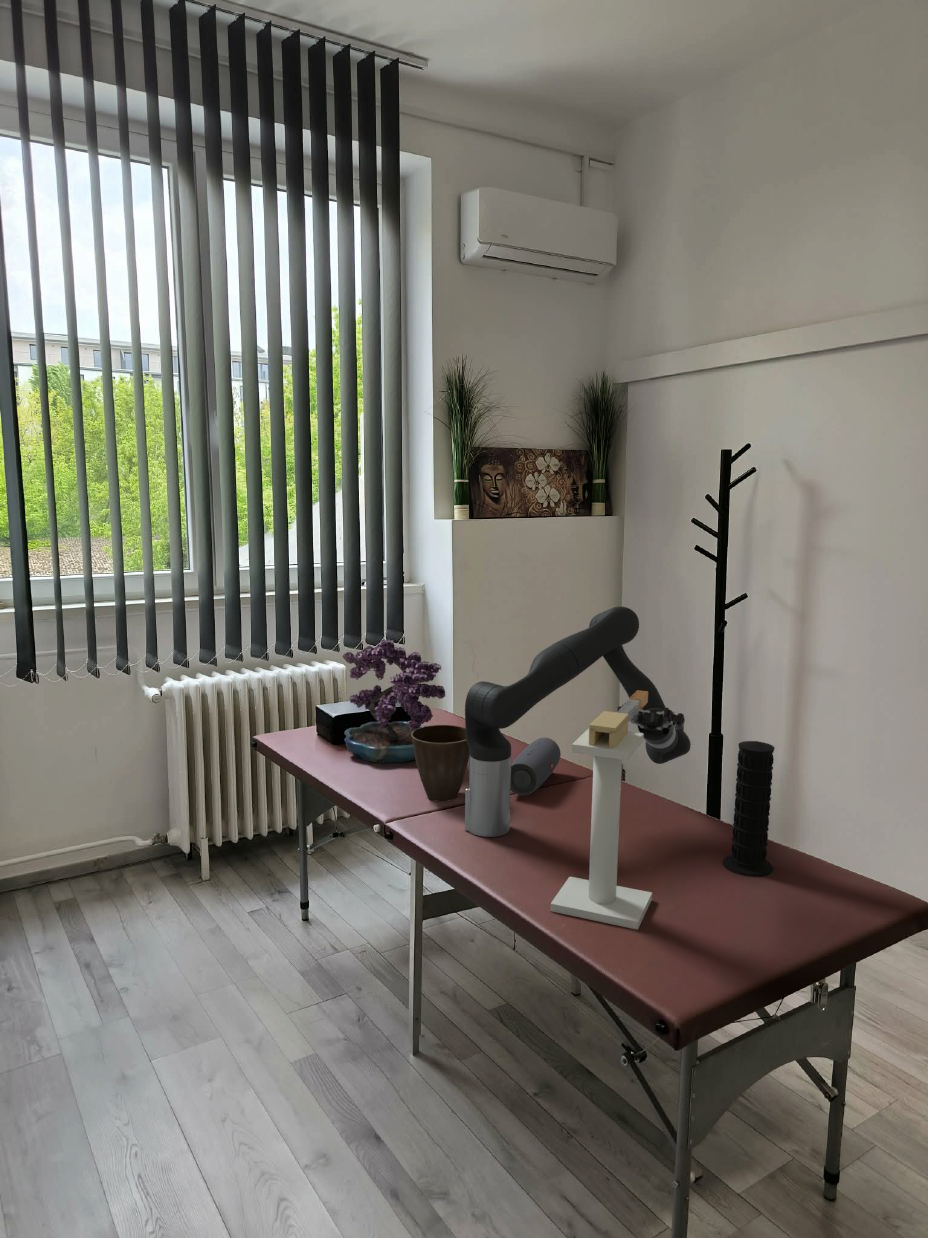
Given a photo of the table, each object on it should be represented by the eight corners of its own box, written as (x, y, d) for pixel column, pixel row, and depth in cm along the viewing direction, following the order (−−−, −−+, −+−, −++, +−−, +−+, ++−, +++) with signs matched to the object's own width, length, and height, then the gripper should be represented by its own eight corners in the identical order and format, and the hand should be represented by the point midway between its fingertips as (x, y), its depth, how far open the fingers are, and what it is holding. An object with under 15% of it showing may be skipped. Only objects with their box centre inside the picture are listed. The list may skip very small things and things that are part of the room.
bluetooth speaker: (539, 803, 215) (540, 763, 214) (502, 798, 218) (503, 758, 217) (562, 774, 236) (563, 737, 235) (528, 769, 239) (529, 733, 238)
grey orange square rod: (606, 732, 163) (607, 720, 162) (636, 701, 186) (637, 690, 185) (618, 734, 162) (619, 722, 162) (647, 702, 185) (648, 691, 184)
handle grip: (773, 880, 176) (774, 859, 186) (783, 751, 172) (783, 737, 181) (721, 872, 179) (724, 852, 189) (729, 745, 175) (731, 731, 184)
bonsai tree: (325, 745, 258) (324, 634, 252) (409, 732, 271) (410, 627, 266) (377, 782, 228) (376, 657, 223) (468, 766, 242) (470, 648, 236)
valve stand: (550, 911, 163) (556, 722, 157) (569, 883, 174) (575, 706, 168) (637, 929, 157) (647, 733, 151) (651, 900, 167) (661, 716, 161)
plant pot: (450, 812, 209) (451, 746, 206) (399, 799, 217) (399, 735, 214) (483, 793, 221) (484, 731, 219) (433, 781, 229) (433, 721, 226)
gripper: (628, 709, 207) (615, 689, 193) (691, 716, 201) (681, 696, 187) (623, 740, 205) (609, 722, 190) (687, 749, 199) (677, 731, 185)
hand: (645, 709), depth 189 cm, fingers open, 8 cm apart
